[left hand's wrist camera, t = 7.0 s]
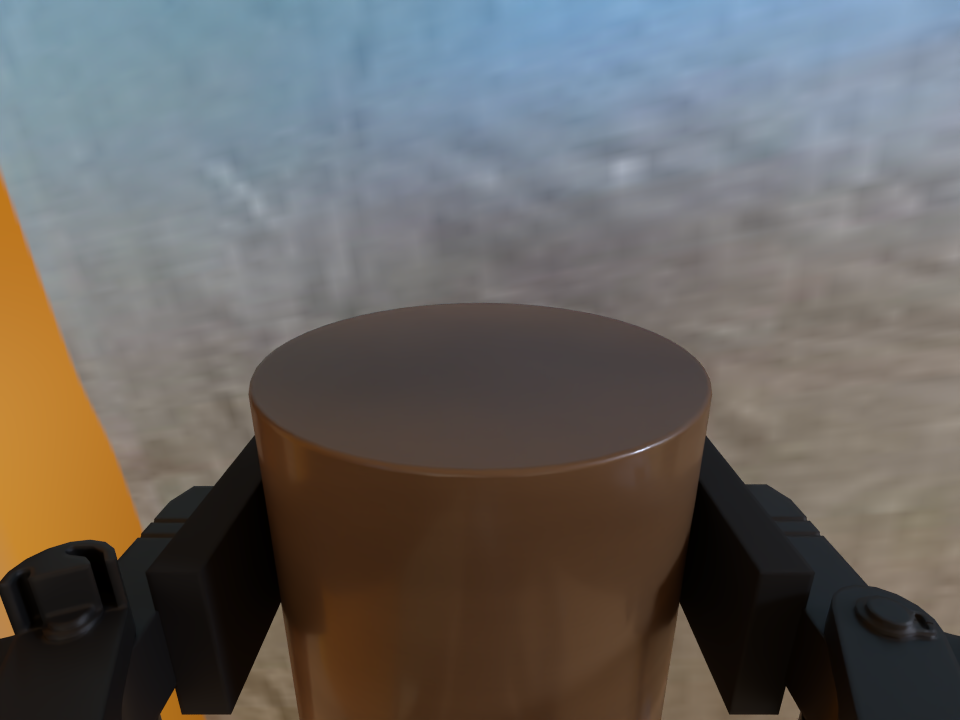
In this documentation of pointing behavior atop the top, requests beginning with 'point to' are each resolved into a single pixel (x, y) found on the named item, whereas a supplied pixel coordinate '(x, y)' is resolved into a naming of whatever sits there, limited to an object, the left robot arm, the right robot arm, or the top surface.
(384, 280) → the top surface
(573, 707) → the rod
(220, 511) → the left robot arm
